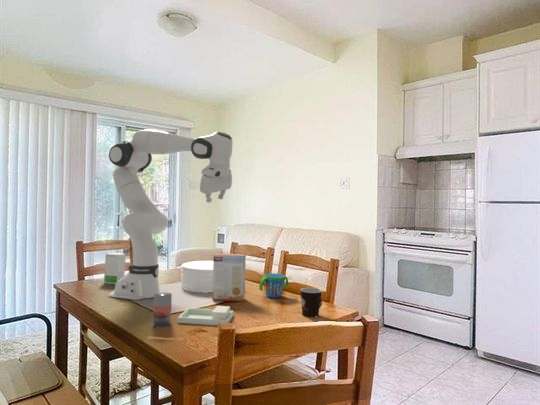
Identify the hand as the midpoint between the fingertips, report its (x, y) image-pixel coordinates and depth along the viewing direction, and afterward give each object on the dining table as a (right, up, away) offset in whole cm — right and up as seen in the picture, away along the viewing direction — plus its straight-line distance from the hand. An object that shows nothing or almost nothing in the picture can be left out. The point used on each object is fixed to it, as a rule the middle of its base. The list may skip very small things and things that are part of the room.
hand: (214, 200), depth 163 cm
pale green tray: (+1, -45, -27) cm, 52 cm away
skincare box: (-58, -44, +31) cm, 79 cm away
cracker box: (+6, -46, +4) cm, 46 cm away
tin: (-14, -45, -33) cm, 57 cm away
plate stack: (-8, -45, +30) cm, 55 cm away
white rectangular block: (+6, -45, -27) cm, 53 cm away
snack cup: (+27, -46, +12) cm, 55 cm away
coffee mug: (+41, -47, -17) cm, 64 cm away
